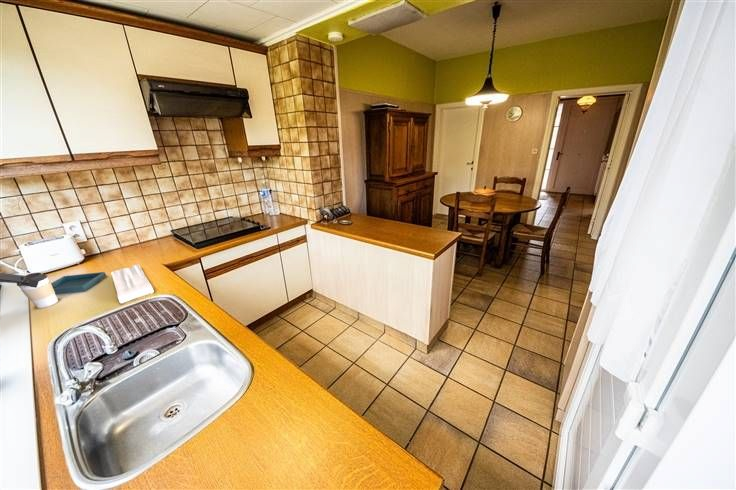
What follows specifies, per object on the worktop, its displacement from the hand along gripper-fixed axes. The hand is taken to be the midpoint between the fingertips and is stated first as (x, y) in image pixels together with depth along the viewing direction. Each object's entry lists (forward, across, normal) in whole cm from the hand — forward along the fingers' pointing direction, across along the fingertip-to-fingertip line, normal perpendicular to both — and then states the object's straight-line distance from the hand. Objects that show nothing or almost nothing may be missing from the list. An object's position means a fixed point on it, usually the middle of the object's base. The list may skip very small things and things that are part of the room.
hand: (18, 286), depth 112 cm
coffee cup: (+13, 0, -5) cm, 14 cm away
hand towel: (+20, +30, +2) cm, 36 cm away
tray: (+24, 0, +6) cm, 25 cm away
